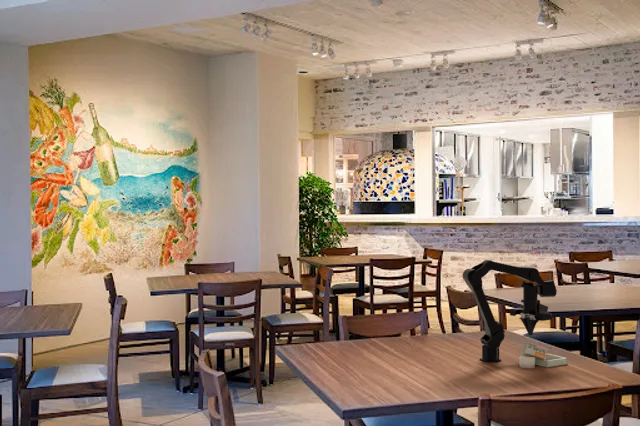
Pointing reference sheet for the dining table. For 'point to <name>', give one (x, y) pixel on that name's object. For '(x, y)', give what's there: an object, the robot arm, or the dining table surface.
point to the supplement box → (534, 350)
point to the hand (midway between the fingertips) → (530, 335)
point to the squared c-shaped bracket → (551, 361)
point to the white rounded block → (526, 361)
